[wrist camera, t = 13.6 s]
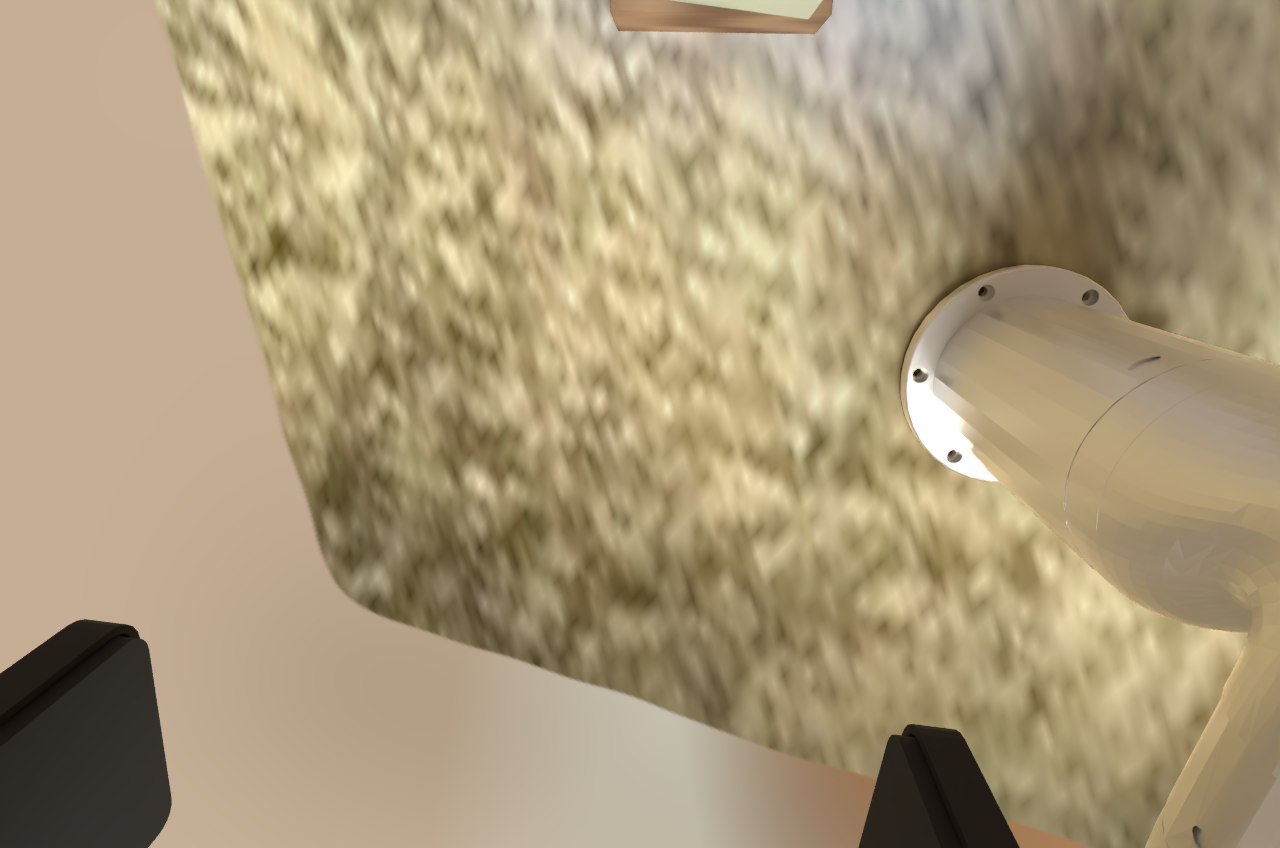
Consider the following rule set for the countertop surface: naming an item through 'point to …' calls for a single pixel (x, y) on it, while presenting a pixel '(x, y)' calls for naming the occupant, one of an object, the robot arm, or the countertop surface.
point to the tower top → (766, 6)
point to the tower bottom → (709, 18)
